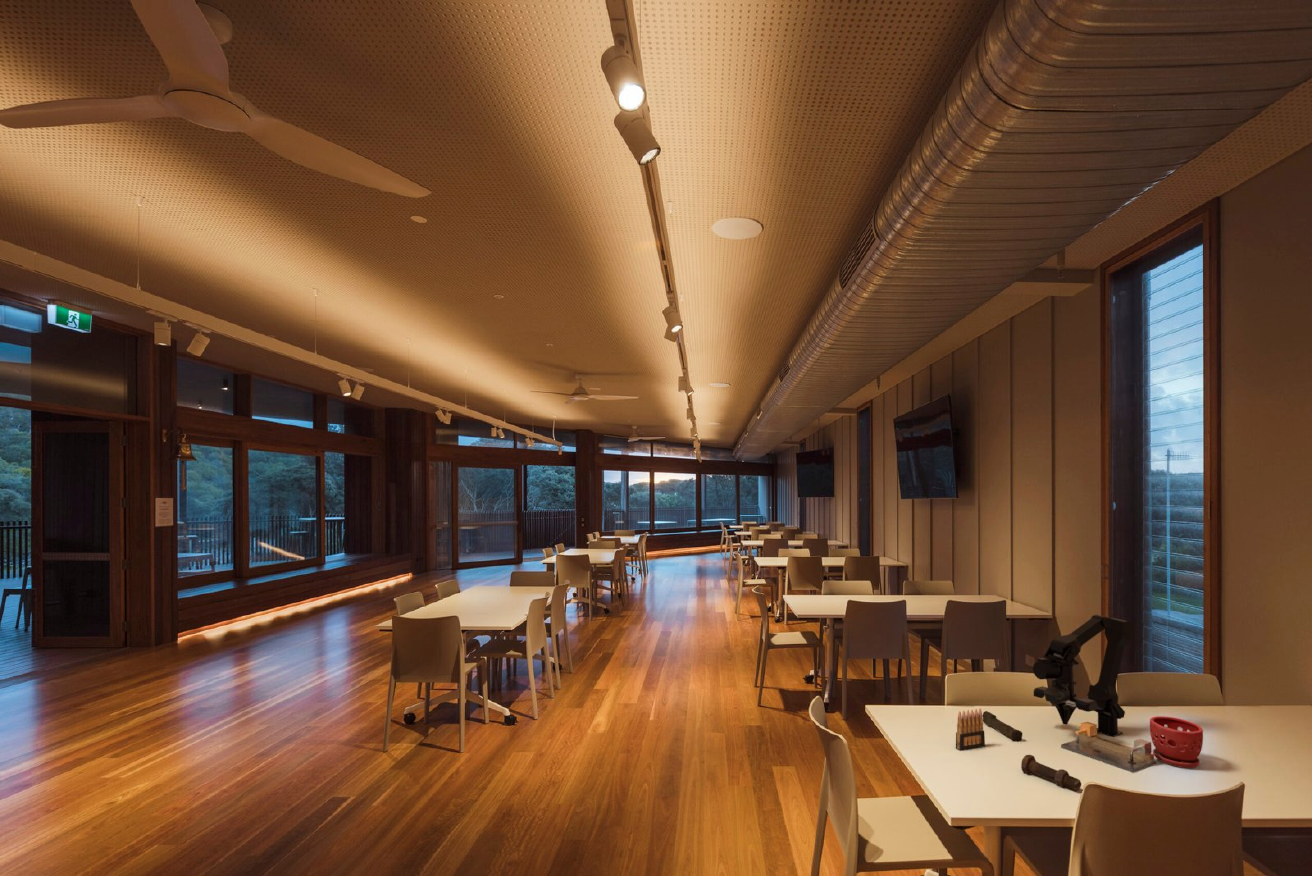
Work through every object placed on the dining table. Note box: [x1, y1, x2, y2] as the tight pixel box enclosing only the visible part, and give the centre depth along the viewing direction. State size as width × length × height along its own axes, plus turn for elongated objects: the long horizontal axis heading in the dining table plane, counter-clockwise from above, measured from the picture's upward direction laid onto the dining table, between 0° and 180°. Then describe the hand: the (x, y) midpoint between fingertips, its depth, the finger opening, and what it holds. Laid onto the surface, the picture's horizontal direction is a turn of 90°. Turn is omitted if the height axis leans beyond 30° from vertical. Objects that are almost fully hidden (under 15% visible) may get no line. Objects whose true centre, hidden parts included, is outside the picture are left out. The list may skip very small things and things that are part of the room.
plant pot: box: [1149, 715, 1204, 769], centre depth 209 cm, size 13×13×12 cm
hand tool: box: [982, 710, 1023, 743], centre depth 232 cm, size 19×4×5 cm, turn 5°
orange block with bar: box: [1075, 721, 1098, 744], centre depth 221 cm, size 9×3×5 cm, turn 119°
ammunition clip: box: [955, 708, 986, 752], centre depth 218 cm, size 11×2×12 cm, turn 112°
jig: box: [1060, 734, 1157, 773], centre depth 213 cm, size 14×21×6 cm, turn 29°
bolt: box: [1020, 754, 1082, 792], centre depth 193 cm, size 6×5×15 cm
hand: (1065, 724), depth 229 cm, fingers closed
